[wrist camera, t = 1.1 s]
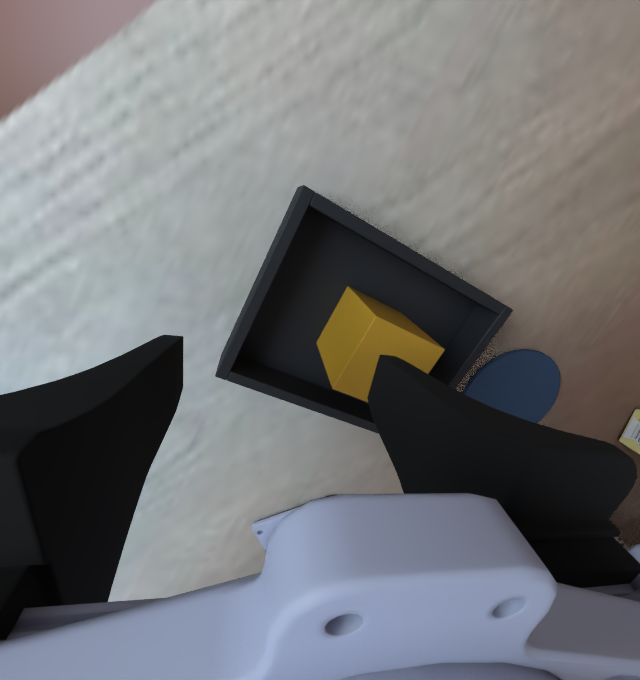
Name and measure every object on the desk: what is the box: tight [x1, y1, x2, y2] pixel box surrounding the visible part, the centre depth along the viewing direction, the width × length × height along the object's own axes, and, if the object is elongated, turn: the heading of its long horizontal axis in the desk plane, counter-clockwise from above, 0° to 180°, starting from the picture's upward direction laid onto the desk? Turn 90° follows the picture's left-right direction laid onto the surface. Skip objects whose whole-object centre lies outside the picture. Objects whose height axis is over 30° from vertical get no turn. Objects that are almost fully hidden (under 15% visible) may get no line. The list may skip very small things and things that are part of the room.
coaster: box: [463, 349, 560, 423], centre depth 27 cm, size 9×9×1 cm
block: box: [316, 286, 445, 402], centre depth 20 cm, size 4×4×6 cm
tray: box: [215, 185, 513, 433], centre depth 21 cm, size 15×12×3 cm
